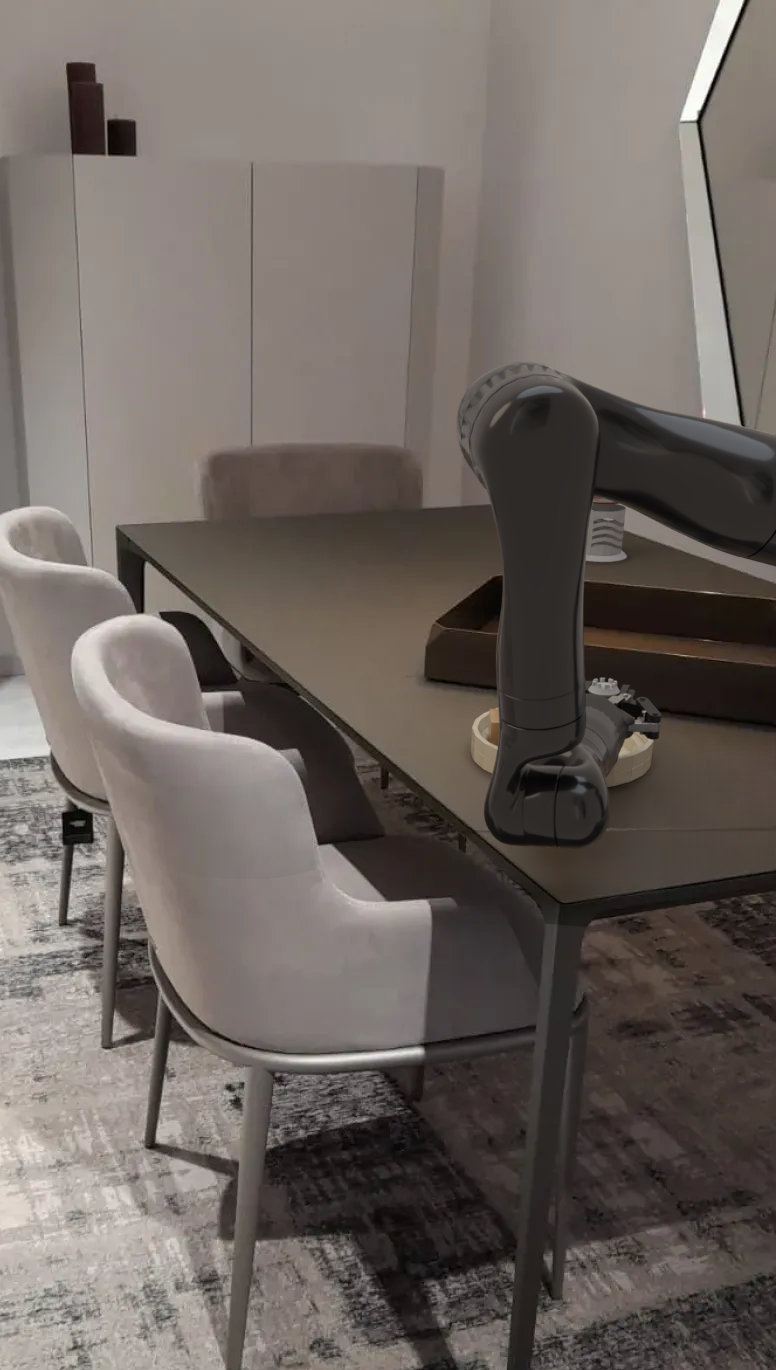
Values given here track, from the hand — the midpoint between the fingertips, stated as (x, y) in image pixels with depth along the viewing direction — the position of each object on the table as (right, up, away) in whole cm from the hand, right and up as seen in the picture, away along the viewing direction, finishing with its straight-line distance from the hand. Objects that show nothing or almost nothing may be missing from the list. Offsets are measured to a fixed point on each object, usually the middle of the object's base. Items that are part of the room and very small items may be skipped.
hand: (606, 691), depth 145 cm
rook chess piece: (-1, -7, 0) cm, 7 cm away
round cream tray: (-4, -7, +5) cm, 9 cm away
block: (-10, -6, +5) cm, 12 cm away
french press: (+20, +37, +92) cm, 100 cm away
